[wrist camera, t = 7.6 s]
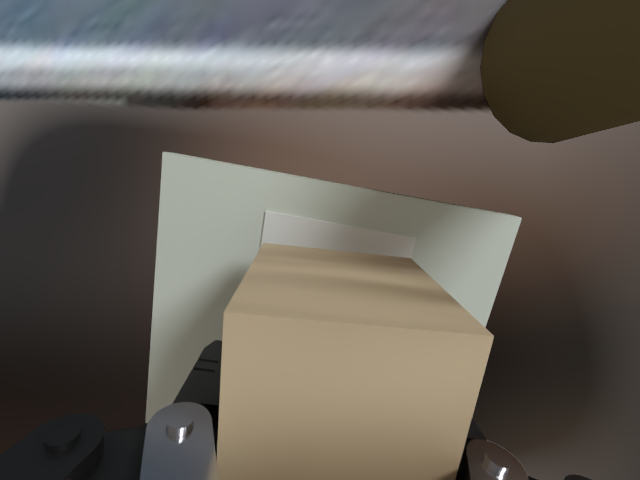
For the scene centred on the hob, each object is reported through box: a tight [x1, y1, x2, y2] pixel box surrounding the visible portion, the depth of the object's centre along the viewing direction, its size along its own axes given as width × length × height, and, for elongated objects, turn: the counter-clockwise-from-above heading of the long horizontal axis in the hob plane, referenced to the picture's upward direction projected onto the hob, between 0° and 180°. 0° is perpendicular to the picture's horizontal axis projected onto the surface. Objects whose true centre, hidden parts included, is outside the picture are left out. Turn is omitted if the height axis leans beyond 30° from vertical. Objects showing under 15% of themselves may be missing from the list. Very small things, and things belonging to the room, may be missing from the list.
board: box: [145, 152, 522, 423], centre depth 14 cm, size 12×14×1 cm
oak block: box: [217, 243, 494, 480], centre depth 9 cm, size 8×5×5 cm, turn 173°
